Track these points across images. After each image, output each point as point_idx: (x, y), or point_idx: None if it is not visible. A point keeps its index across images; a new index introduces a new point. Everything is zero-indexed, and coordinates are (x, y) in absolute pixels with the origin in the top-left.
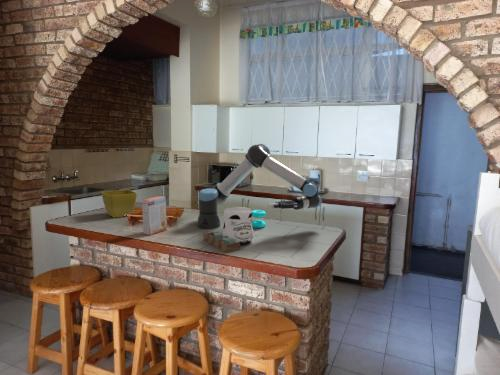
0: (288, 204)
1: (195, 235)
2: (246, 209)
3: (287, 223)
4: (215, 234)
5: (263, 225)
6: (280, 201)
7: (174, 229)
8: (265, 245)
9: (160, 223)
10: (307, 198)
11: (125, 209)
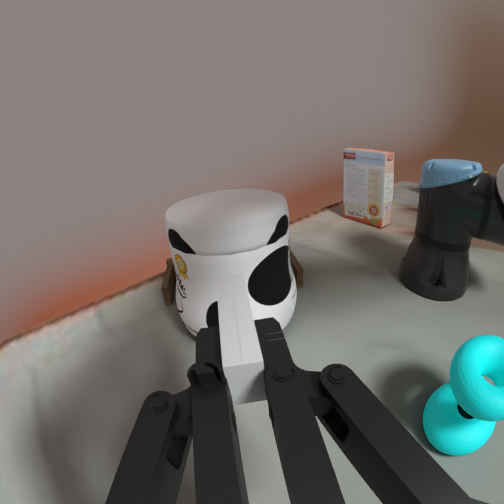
0: (112, 483)
1: (334, 255)
2: (211, 214)
3: None
4: None
5: (433, 441)
6: (409, 457)
7: (387, 235)
8: (145, 371)
9: (366, 206)
10: None
11: None
